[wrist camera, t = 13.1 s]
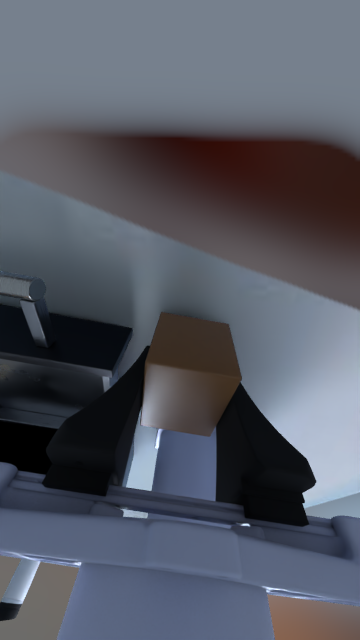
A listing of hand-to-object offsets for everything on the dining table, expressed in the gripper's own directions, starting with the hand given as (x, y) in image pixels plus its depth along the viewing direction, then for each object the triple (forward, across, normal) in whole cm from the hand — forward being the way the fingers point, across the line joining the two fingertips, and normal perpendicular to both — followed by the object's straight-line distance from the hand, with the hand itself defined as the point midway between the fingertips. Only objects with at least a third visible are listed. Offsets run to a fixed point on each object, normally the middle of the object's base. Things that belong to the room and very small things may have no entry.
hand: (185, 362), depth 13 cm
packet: (+1, 0, 0) cm, 1 cm away
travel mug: (+2, +36, +102) cm, 108 cm away
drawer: (+2, +12, +4) cm, 13 cm away
